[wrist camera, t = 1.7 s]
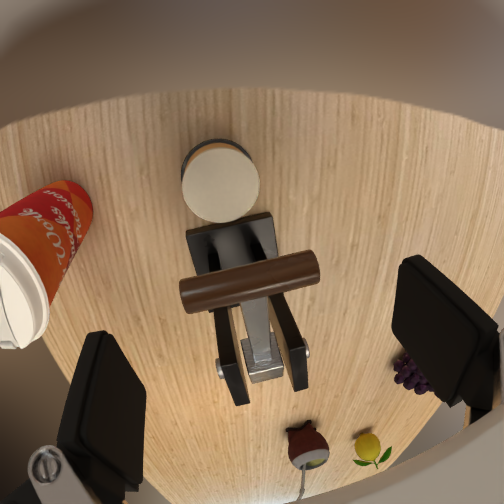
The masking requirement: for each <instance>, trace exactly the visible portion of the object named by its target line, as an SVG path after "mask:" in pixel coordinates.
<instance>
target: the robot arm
mask: <svg viewBox="0 0 504 504" xmlns="http://www.w3.org/2000/svg"><path fill="white" fill-rule="evenodd" d="M391 327H392V331H393V334H394V335H395V337H396V338H397V339H398V341H399V342H400V343H401V345H402V346H403V347H404V349H405V350H406V352H407V353H408V354H409V356H410V357H411V358H412V360H413V361H414V363H415V364H416V365H417V367H418V368H419V370H420V371H421V372H422V374H423V375H424V377H425V378H426V380H427V381H428V382H429V384H430V385H431V387H432V388H433V390H434V391H435V393H436V394H437V396H438V397H439V398H440V400H441V401H443V402H446V403H447V404H448V406H449V407H450V408H451V407H452V406H454V405H456V404H457V403H459V402H461V401H462V400H464V402H465V403H466V411H465V419H464V426H463V430H461V431H460V432H458V433H456V434H455V435H453V436H452V437H450V438H448V439H446V440H445V441H443V442H441V443H439V444H438V445H436V446H434V447H432V448H430V449H429V450H427V451H425V452H423V453H421V454H419V455H417V456H415V457H413V458H411V459H409V460H407V461H405V462H403V463H401V464H398V465H396V466H394V467H392V468H390V469H387V470H385V471H383V472H380V473H378V474H376V475H373V476H371V477H368V478H366V479H363V480H360V481H358V482H355V483H352V484H350V485H347V486H344V487H341V488H338V489H335V490H332V491H329V492H326V493H322V494H319V495H316V496H312V497H309V498H305V499H301V500H297V501H293V502H289V503H285V504H504V328H503V329H502V330H501V332H500V333H498V331H497V328H498V325H497V323H496V322H495V321H494V320H493V319H492V318H491V317H490V316H489V315H488V314H487V313H486V312H484V311H483V310H482V309H481V308H480V307H479V306H478V305H477V304H476V303H475V302H474V301H473V300H472V299H471V298H470V297H468V296H467V295H466V294H465V293H464V292H463V291H462V290H461V289H460V288H459V287H457V286H456V285H455V284H454V283H453V282H452V281H451V280H450V279H448V278H447V277H446V276H445V275H444V274H443V273H441V272H440V271H439V270H438V269H437V268H436V267H434V266H433V265H432V264H431V263H430V262H428V261H427V260H426V259H425V258H424V257H422V256H421V255H414V256H411V257H408V258H405V259H403V261H402V264H400V266H399V269H398V279H397V288H396V296H395V304H394V311H393V318H392V325H391ZM145 411H146V390H145V387H144V385H143V384H142V382H141V381H140V379H139V378H138V376H137V375H136V373H135V371H134V370H133V368H132V367H131V365H130V363H129V362H128V360H127V358H126V357H125V355H124V353H123V352H122V350H121V348H120V347H119V345H118V343H117V341H116V340H115V338H114V336H113V335H112V334H108V333H107V332H106V331H104V330H102V331H97V332H91V333H88V334H87V336H86V339H85V342H84V344H83V347H82V350H81V353H80V356H79V359H78V363H77V366H76V369H75V372H74V375H73V379H72V382H71V386H70V389H69V393H68V396H67V400H66V403H65V407H64V411H63V415H62V419H61V423H60V427H59V432H58V436H57V441H58V442H57V447H55V446H51V445H48V446H43V447H41V448H39V449H37V450H36V451H35V452H34V453H33V455H32V456H31V458H30V460H29V464H28V473H29V477H30V478H29V479H28V480H26V481H25V482H24V483H23V484H22V485H21V486H19V487H18V488H17V489H15V490H14V491H13V492H12V493H11V494H9V495H8V496H7V497H6V498H4V499H3V500H2V501H1V502H0V504H128V503H127V502H126V501H125V491H128V492H129V491H130V492H138V490H139V488H138V487H139V484H141V483H142V481H143V450H144V427H145Z"/></svg>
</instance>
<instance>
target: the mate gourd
mask: <svg viewBox="0 0 504 504" xmlns="http://www.w3.org/2000/svg"><path fill="white" fill-rule="evenodd" d="M311 422H312V421H311V420H307V421H306V422H305V423H304V424H303V425H302V426H301V427H300V428H287V429H286V432H288V442H289V446H288V455H289V459H290V461H291V462H292V464H293V465H294V466H295V467H296V468H297V469H299V470H302V481H301V489H300V492H299V493H300V495H299V497H298V499H297V500H300V499H301V498H302V496H303V494H304V490H305V489H304V482H305V470H311V469H314V468H317V467H319V466H321V465H323V464H324V463H326V462H327V460H328V457H329V454H330V452H329V446H328V444H327V442H326V440H325V438H324V437H323V436H322V435H321V434H320V433H319V432H317V431H316V428H313V427H312V425H311ZM297 500H296V501H297Z"/></svg>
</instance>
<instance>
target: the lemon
mask: <svg viewBox="0 0 504 504" xmlns="http://www.w3.org/2000/svg"><path fill="white" fill-rule="evenodd" d="M391 449H392V446H391V447H389V448H388V449H387V450H386V452H385V453H384V454H383V456H382V457H381V458H380V460H379V462H378V464H379V463H381V462H384V461H386V460H387V459H388V458H389V456H390V454H391ZM355 450H356V453H357V455H358V456H359V457H360V458H361V459H363V460H365V461H374V464H375V465H376V468H377V469H378V467H377V465H378V464H376V462H375V459H376V458H377V457H378V456H379V454H380V451H381V446H380V441H379V439H378V438H377V436H376V435H374V434H372V433H367V434H364V433H361V434H360V437H358V438H357V440H356V442H355ZM353 461H354V462H355V463H356V464H358V465H360V466H367V465H369V464H372V463H371V462H365V461H360V460H353Z"/></svg>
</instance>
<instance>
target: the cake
mask: <svg viewBox="0 0 504 504" xmlns="http://www.w3.org/2000/svg"><path fill="white" fill-rule="evenodd" d="M181 182H182V192H183V197H184V200H185V202H186V204H187V206H188V207H189V209H190V210H191V211H192V212H193V213H194V214H195V215H197V216H198V217H200V218H202V219H204V220H206V221H209V222H214V223H225V222H230V221H234V220H236V219H238V218H240V217H242V216H243V215H245V214H246V213H247V212H248V211H249V210H250V209H251V208H252V207H253V205H254V204H255V202H256V200H257V198H258V194H259V190H260V178H259V174H258V171H257V169H256V167H255V165H254V164H253V162H252V159H251V157H250V156H249V154H248V153H247V152H246V151H245V150H244V149H243V148H242V147H241V146H240V145H238V144H237V143H235V142H232V141H230V140H226V139H211V140H208V141H205V142H202V143H200V144H199V145H197V146H196V147H194V148H193V149H192V150H191V151H190V152H189V154H188V155H187V156H186V158H185V160H184V163H183V165H182V170H181Z"/></svg>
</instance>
